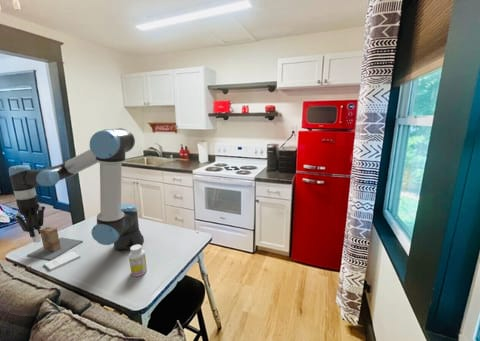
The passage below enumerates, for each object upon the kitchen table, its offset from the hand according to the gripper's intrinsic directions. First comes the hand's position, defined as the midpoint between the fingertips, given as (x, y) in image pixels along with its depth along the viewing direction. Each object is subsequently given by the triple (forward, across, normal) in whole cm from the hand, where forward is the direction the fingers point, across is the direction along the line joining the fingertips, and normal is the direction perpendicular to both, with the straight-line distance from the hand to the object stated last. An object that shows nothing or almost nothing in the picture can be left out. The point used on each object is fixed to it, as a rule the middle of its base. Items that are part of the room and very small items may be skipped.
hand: (36, 241), depth 116 cm
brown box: (+8, -6, 0) cm, 11 cm away
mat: (+9, -8, 0) cm, 12 cm away
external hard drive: (+10, 0, +14) cm, 17 cm away
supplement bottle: (+9, -2, +57) cm, 58 cm away
